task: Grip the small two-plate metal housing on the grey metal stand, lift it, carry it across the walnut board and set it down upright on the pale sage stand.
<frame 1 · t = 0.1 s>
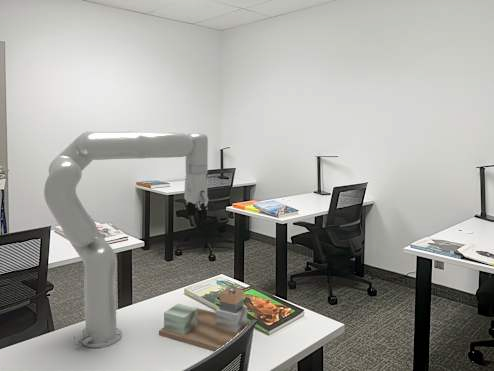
hand: (196, 218, 149), 37 cm above the table, tool pointing down, fingers open, 9 cm apart
housing: (231, 308, 145), point 7 cm above the table, touching stand board
stand board: (206, 330, 145), on the table
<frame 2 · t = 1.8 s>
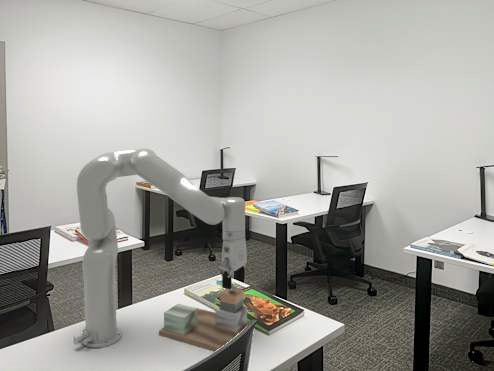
hand: (233, 283, 144), 16 cm above the table, tool pointing down, fingers open, 9 cm apart
nothing on the table moved.
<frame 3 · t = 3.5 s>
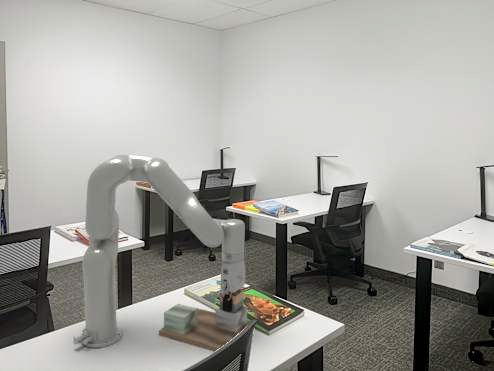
hand: (231, 306, 145), 8 cm above the table, tool pointing down, fingers closed on housing, 6 cm apart
housing: (231, 308, 145), point 7 cm above the table, touching gripper, stand board
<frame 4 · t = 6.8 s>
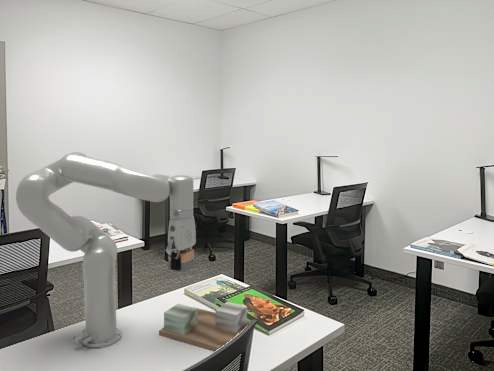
hand: (181, 266, 140), 23 cm above the table, tool pointing down, fingers closed on housing, 6 cm apart
housing: (181, 268, 140), point 22 cm above the table, touching gripper
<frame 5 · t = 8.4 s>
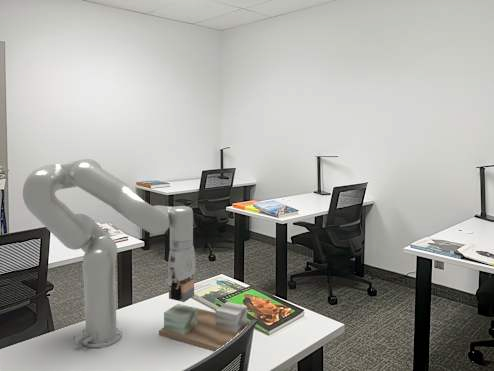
hand: (181, 295, 142), 13 cm above the table, tool pointing down, fingers closed on housing, 6 cm apart
housing: (181, 297, 142), point 12 cm above the table, touching gripper
when the fingers open (9 cm above the table, at t = 10.0 s): housing drops 1 cm, resting on stand board.
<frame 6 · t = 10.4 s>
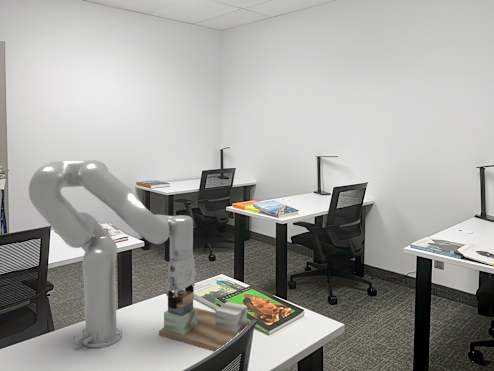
hand: (181, 302, 142), 10 cm above the table, tool pointing down, fingers open, 9 cm apart
housing: (180, 310, 143), point 7 cm above the table, touching stand board
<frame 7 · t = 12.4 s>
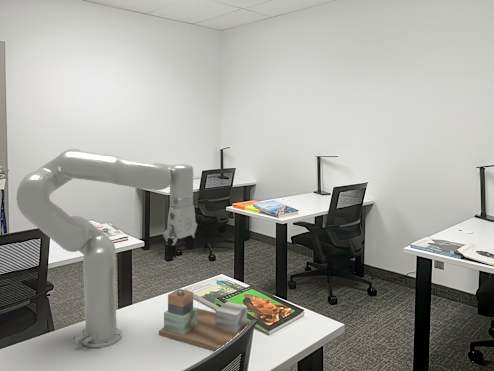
hand: (180, 252, 142), 27 cm above the table, tool pointing down, fingers open, 9 cm apart
nothing on the table moved.
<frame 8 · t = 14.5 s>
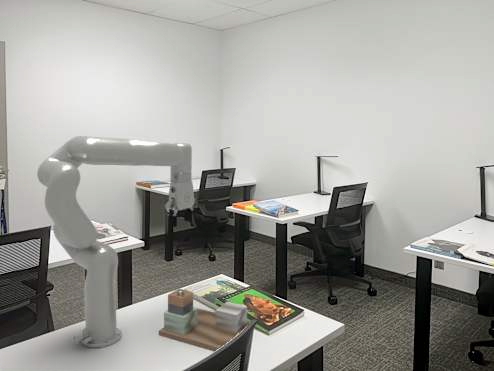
hand: (180, 223, 156), 33 cm above the table, tool pointing down, fingers open, 9 cm apart
nothing on the table moved.
at the end: housing 0.1 cm from the target spot, point 7.5 cm above the table; housing tilted 0°; the gripper is holding nothing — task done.
